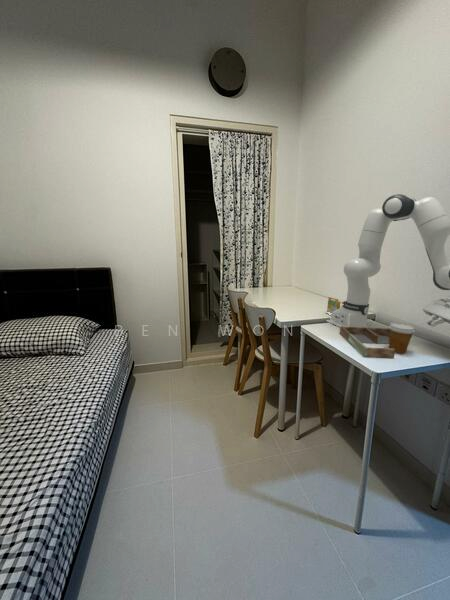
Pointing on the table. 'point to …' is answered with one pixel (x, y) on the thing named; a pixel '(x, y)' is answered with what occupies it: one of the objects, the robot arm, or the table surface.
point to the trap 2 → (383, 339)
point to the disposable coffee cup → (400, 336)
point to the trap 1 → (363, 338)
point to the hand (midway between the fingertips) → (429, 324)
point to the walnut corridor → (373, 336)
